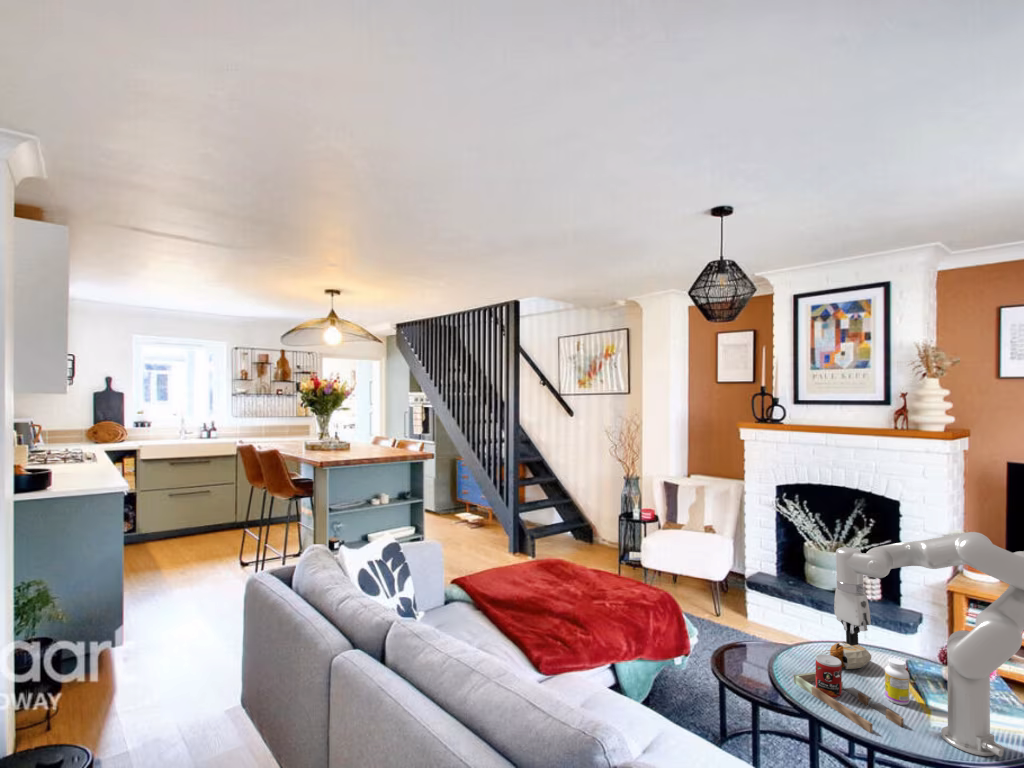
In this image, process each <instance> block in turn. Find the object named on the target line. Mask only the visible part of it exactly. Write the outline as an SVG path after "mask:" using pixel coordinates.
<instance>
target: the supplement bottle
mask: <svg viewBox="0 0 1024 768" xmlns="http://www.w3.org/2000/svg"><path fill="white" fill-rule="evenodd" d="M906 667H907V666H906V662H905V661H903V660H902V659H898V658H895V657H890V658H888V665H886V667H885V668H884V696H885V698H886V699H887V700H888V701H889V702H891V703H893V704H896V705H900V706H905V705H908V704H909V703H910V673H909V672H908V670H906Z"/></svg>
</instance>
